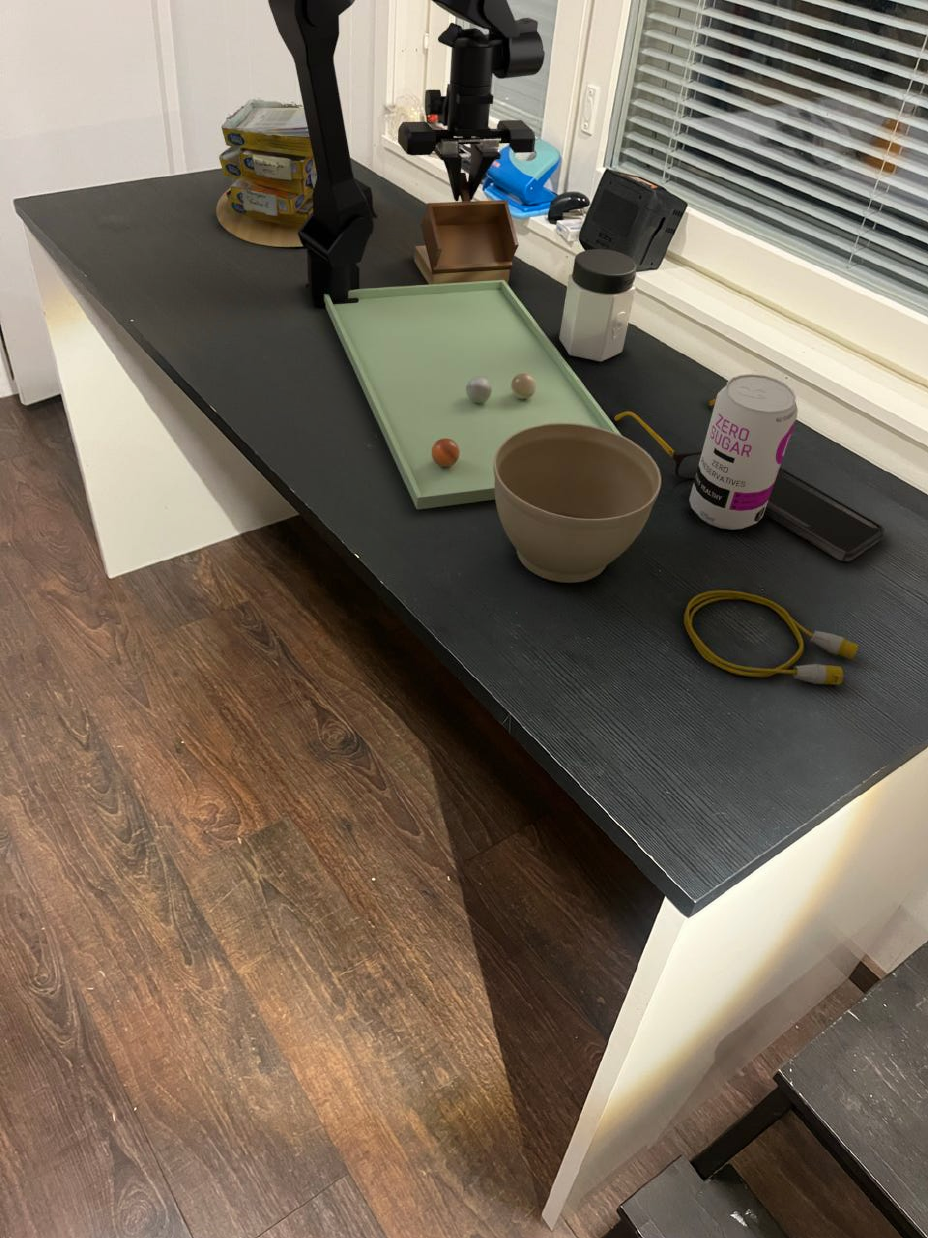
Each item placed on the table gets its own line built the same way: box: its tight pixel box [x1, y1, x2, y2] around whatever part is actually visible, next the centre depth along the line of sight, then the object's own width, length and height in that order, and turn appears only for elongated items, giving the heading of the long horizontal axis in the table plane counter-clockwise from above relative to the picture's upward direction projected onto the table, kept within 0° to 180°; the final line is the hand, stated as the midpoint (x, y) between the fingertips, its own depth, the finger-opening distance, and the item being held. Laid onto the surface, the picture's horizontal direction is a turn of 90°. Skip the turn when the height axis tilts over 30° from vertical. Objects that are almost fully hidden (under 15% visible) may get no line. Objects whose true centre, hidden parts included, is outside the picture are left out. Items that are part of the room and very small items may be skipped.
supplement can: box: [688, 373, 799, 531], centre depth 101 cm, size 8×8×15 cm
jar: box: [558, 248, 638, 363], centre depth 128 cm, size 9×8×12 cm
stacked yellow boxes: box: [215, 97, 317, 248], centre depth 150 cm, size 25×25×17 cm
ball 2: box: [466, 377, 492, 403], centre depth 117 cm, size 3×3×3 cm
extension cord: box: [683, 589, 859, 686], centre depth 90 cm, size 12×16×2 cm
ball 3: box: [511, 373, 536, 399], centre depth 119 cm, size 3×3×3 cm
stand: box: [413, 245, 511, 286], centre depth 145 cm, size 12×10×2 cm
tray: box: [324, 280, 623, 510], centre depth 122 cm, size 27×49×2 cm, turn 18°
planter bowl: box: [493, 423, 662, 584], centre depth 95 cm, size 16×16×11 cm
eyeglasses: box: [613, 398, 716, 480], centre depth 114 cm, size 14×14×4 cm
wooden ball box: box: [420, 172, 520, 274], centre depth 139 cm, size 12×13×5 cm
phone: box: [763, 467, 885, 563], centre depth 106 cm, size 8×1×15 cm
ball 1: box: [431, 438, 460, 467], centre depth 107 cm, size 3×3×3 cm
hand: (462, 199), depth 139 cm, fingers closed on wooden ball box, 2 cm apart
